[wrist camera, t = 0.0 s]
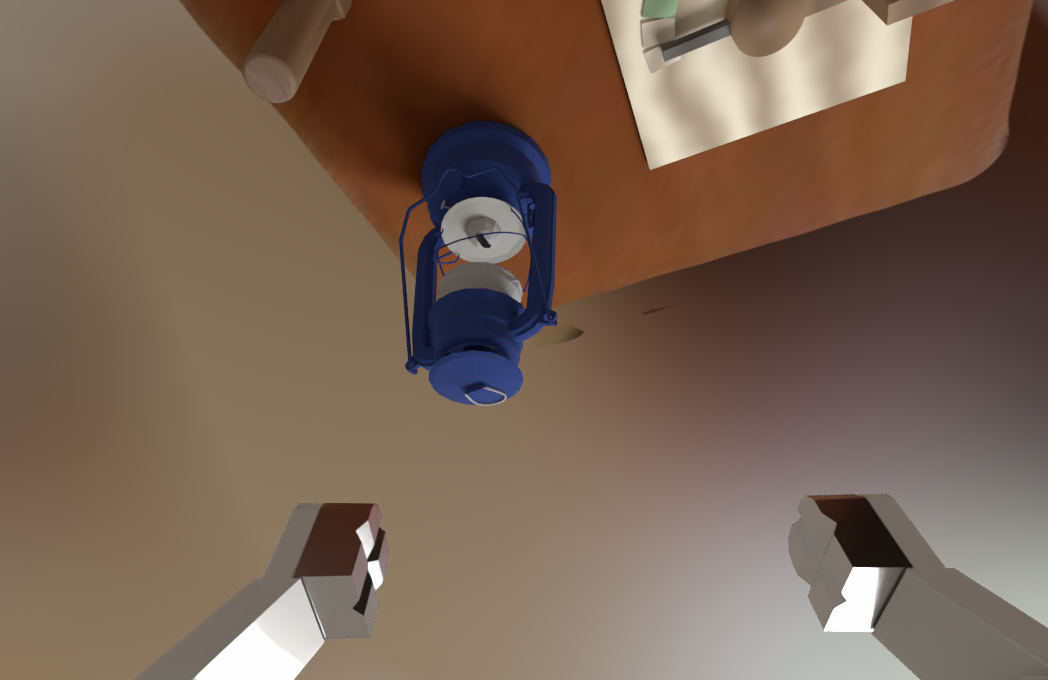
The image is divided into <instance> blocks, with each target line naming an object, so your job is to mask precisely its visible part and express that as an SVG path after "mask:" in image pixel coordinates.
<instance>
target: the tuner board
mask: <svg viewBox="0 0 1048 680" xmlns="http://www.w3.org/2000/svg"><path fill="white" fill-rule="evenodd" d="M601 1H602V5H603V8H604V12H605V15H606V19H607V22H608V26H609V29H610V33H611V36H612V40H613V43H614V47H615V50H616V54H617V57H618V60H619V64H620V67H621V71H622V74H623V78H624V81H625V85H626V88H627V92H628V95H629V99H630V102H631V106H632V109H633V113H634V116H635V119H636V123H637V126H638V130H639V133H640V137H641V140H642V144H643V147H644V151H645V154H646V158H647V161H648V165H649V168H650V170H651V169H654V168H657V167H660V166H663V165H666V164H669V163H671V162H674V161H677V160H680V159H683V158H686V157H689V156H691V155H694V154H697V153H700V152H703V151H706V150H709V149H711V148H714V147H717V146H720V145H723V144H726V143H729V142H731V141H734V140H737V139H740V138H743V137H746V136H749V135H752V134H754V133H757V132H760V131H763V130H766V129H769V128H772V127H774V126H777V125H780V124H783V123H786V122H789V121H792V120H794V119H797V118H800V117H803V116H806V115H809V114H812V113H814V112H817V111H820V110H823V109H826V108H829V107H832V106H834V105H837V104H840V103H843V102H846V101H849V100H852V99H855V98H857V97H860V96H863V95H866V94H869V93H872V92H875V91H877V90H880V89H883V88H886V87H889V86H892V85H895V84H897V83H900V82H903V81H905V79H906V70H907V60H908V51H909V42H910V33H911V24H912V16H911V17H909V18H906V19H903V20H901V21H898V22H895V23H893V24H890V25H888V26H887V25H886V24H885V23H884V22H883V21H882V20H881V19H880V18H879V17H878V16H877V15H876V14H875V13H874V12H873V11H872V10H871V9H870V8H869V7H868V6H867V5H866V4H865V3H864V2H863V1H862V0H848V1H845V2H843V3H840V4H838V5H835V6H833V7H830V8H828V9H825V10H823V11H820V12H818V13H815V14H812V15H810V16H807V17H805V18H804V21H803V24H802V26H801V28H800V30H799V31H798V33H797V34H796V36H795V37H794V38H793V39H792V40H791V42H790V43H789V44H787V45H786V46H785V47H784V48H782V49H781V50H779V51H777V52H776V53H773V54H771V55H768V56H763V57H752V56H748V55H746V54H744V53H743V52H741V51H740V50H739V48H738V47H737V45H736V44H735V42H734V40H733V38H732V37H731V35H730V36H728V37H725V38H723V39H720V40H718V41H715V42H713V43H710V44H708V45H705V46H703V47H700V48H698V49H695V50H693V51H691V52H688V53H686V54H683V55H681V56H678V57H676V58H673V59H671V60H668V61H666V62H665V61H664V58H663V55H662V51H661V46H662V45H664V44H667V43H669V42H672V41H674V40H676V39H679V38H681V37H684V36H686V35H688V34H691V33H693V32H696V31H698V30H700V29H703V28H705V27H708V26H710V25H712V24H715V23H717V22H720V21H722V20H725V13H726V8H727V5H728V2H729V0H601Z"/></svg>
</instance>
